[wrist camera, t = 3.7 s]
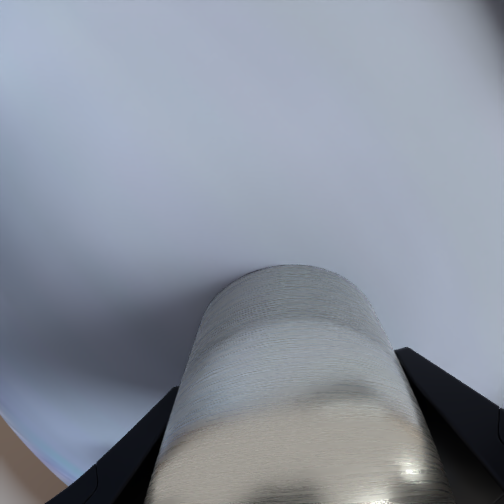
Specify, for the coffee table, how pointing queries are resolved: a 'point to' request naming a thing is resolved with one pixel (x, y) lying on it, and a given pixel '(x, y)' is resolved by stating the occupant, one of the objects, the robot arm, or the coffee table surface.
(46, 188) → the coffee table surface
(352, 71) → the coffee table surface
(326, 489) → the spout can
